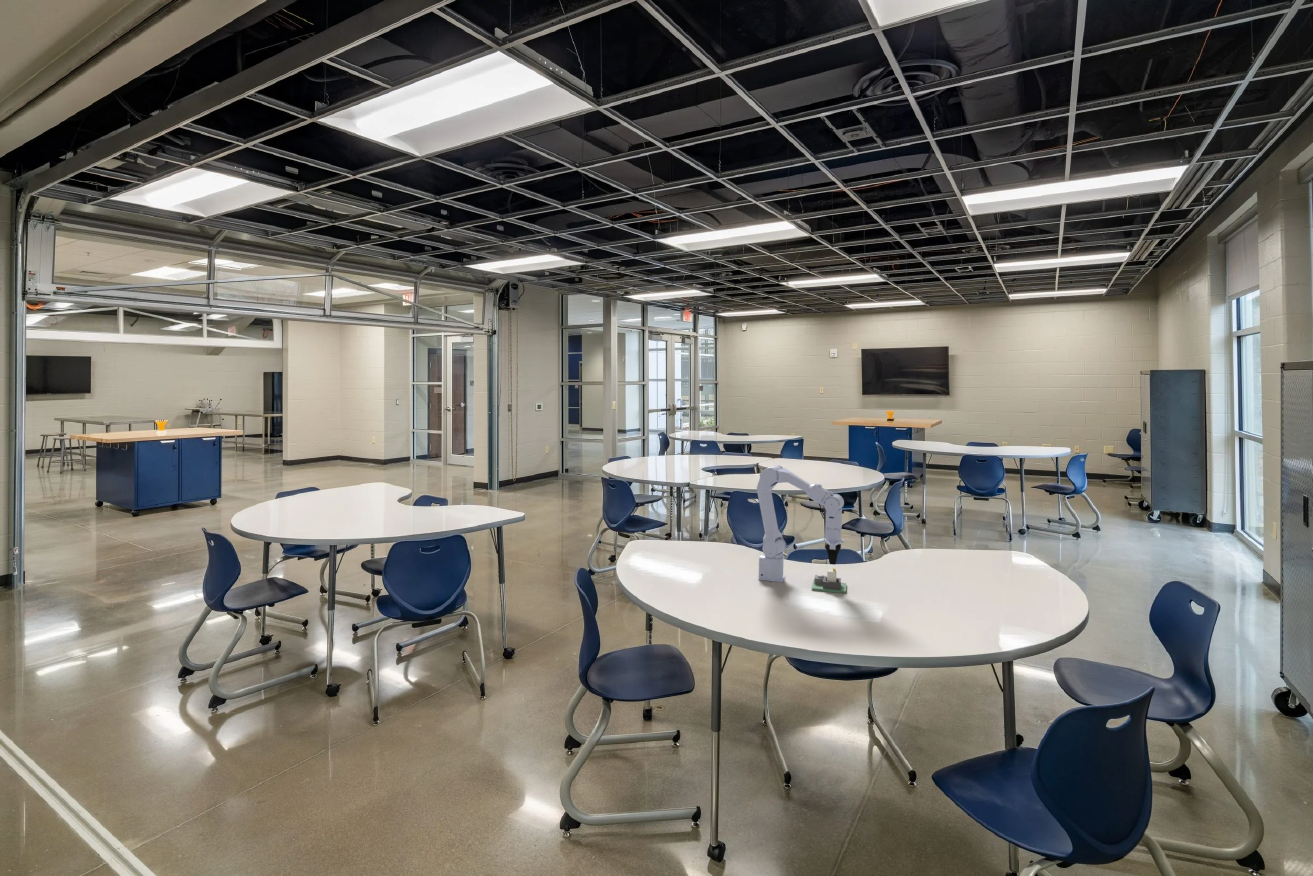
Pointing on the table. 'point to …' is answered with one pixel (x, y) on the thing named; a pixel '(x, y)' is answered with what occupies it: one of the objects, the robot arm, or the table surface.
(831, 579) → the plug
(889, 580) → the table surface
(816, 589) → the board
